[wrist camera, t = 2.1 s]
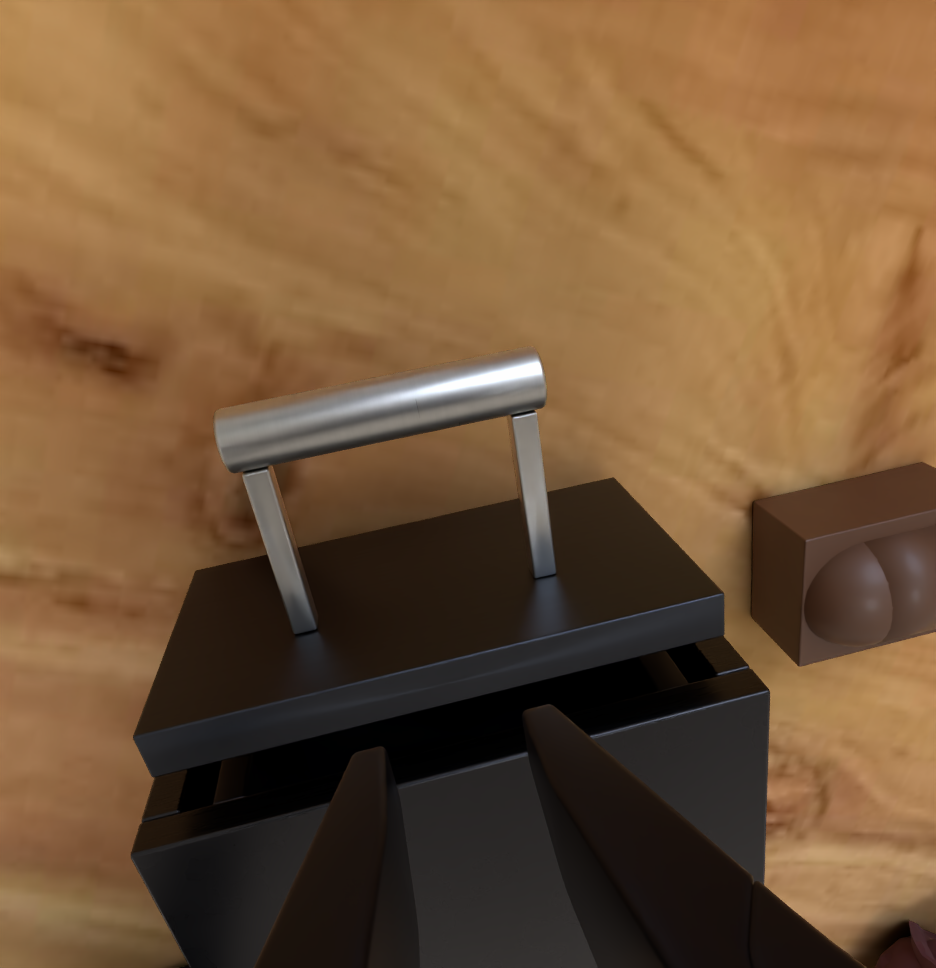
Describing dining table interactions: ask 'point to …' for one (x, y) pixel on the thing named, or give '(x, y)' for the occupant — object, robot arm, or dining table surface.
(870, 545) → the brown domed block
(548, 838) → the cabinet
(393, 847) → the robot arm
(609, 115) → the dining table surface
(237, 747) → the drawer
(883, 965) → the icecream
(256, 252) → the dining table surface
